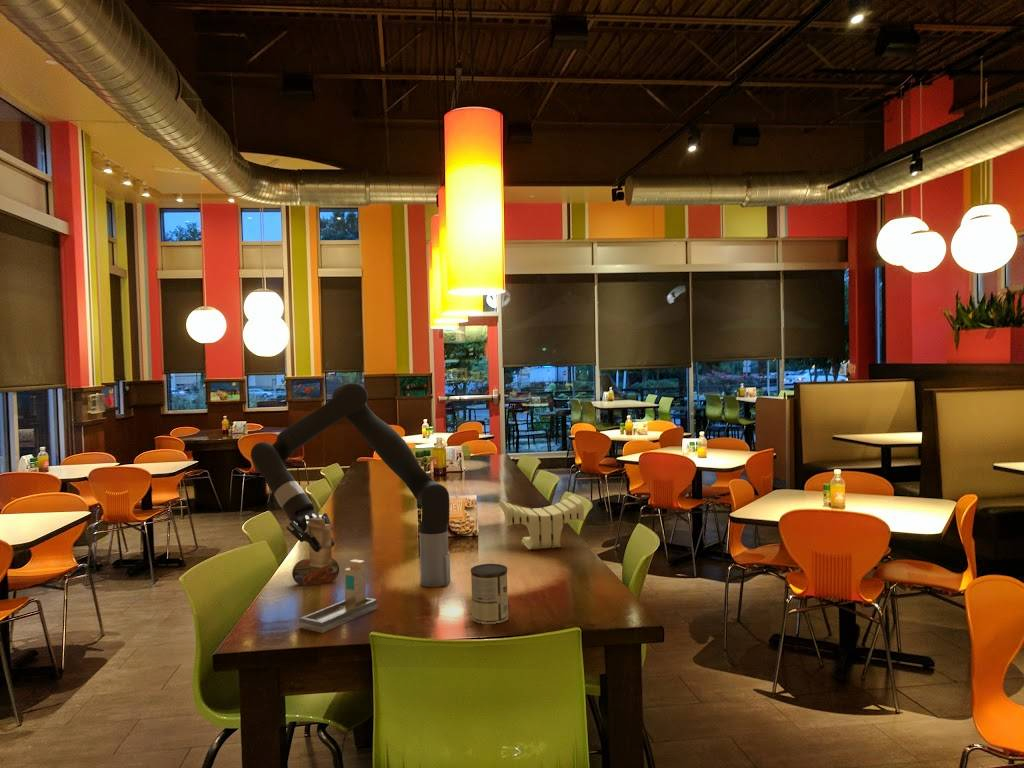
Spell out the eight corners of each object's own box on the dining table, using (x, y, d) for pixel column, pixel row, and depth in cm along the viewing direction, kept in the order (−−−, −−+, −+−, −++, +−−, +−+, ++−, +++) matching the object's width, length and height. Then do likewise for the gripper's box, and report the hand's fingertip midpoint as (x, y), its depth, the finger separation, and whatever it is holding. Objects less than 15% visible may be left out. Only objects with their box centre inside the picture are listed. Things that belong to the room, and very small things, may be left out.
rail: (355, 604, 220) (354, 556, 219) (377, 608, 215) (375, 559, 215) (300, 627, 201) (298, 575, 201) (322, 633, 197) (320, 579, 196)
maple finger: (321, 561, 205) (319, 515, 205) (332, 563, 203) (330, 517, 203) (309, 565, 202) (308, 518, 201) (320, 567, 199) (319, 520, 199)
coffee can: (472, 612, 210) (471, 564, 210) (507, 611, 211) (506, 562, 210) (471, 625, 200) (470, 574, 200) (509, 624, 200) (507, 573, 200)
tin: (292, 586, 239) (291, 561, 239) (292, 584, 242) (292, 558, 242) (339, 582, 243) (338, 557, 243) (339, 579, 246) (338, 554, 246)
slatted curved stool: (508, 553, 276) (507, 506, 275) (500, 543, 291) (499, 498, 291) (584, 547, 281) (583, 501, 281) (572, 538, 297) (572, 494, 297)
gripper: (280, 496, 199) (313, 545, 194) (318, 488, 212) (350, 534, 206) (267, 514, 202) (299, 562, 196) (306, 505, 215) (337, 550, 209)
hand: (325, 548), depth 201 cm, fingers closed on maple finger, 4 cm apart
